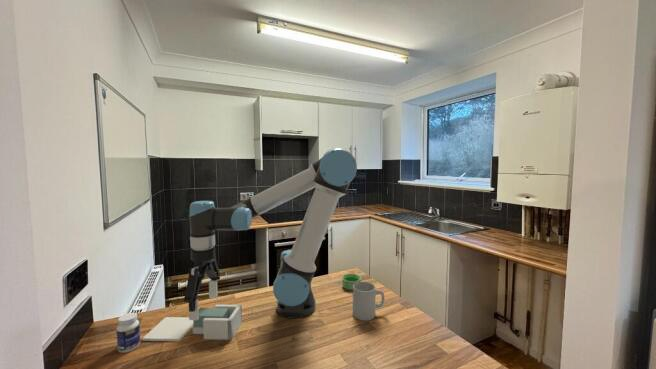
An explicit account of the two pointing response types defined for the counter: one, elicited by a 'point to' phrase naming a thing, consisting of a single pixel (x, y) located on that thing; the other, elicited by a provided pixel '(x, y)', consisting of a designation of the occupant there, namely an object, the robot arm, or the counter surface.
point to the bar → (210, 315)
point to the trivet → (169, 329)
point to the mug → (365, 300)
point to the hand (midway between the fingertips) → (204, 308)
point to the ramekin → (350, 280)
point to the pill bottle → (128, 333)
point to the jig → (221, 324)
